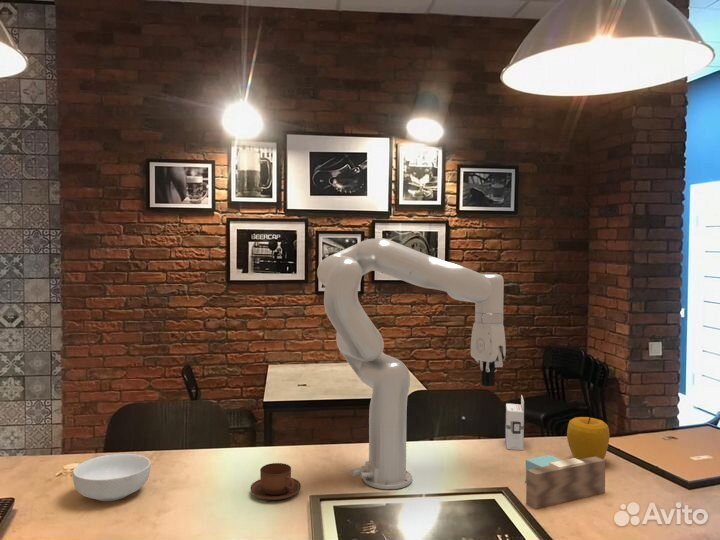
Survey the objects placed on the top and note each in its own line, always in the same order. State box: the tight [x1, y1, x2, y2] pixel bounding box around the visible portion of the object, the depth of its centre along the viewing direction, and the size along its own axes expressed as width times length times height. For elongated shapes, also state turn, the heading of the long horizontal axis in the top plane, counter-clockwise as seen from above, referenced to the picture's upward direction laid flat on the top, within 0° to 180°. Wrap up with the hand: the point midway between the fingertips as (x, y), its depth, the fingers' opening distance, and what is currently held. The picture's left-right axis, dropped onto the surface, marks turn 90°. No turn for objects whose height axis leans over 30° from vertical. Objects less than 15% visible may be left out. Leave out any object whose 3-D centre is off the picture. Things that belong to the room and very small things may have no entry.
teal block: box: [524, 454, 562, 483], centre depth 141 cm, size 8×10×6 cm
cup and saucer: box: [249, 462, 302, 501], centre depth 136 cm, size 12×12×6 cm
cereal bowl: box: [72, 453, 152, 502], centre depth 134 cm, size 17×17×7 cm
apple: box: [566, 416, 611, 460], centre depth 158 cm, size 11×11×13 cm
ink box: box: [505, 394, 525, 451], centre depth 172 cm, size 9×5×15 cm, turn 168°
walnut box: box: [525, 456, 606, 510], centre depth 134 cm, size 22×3×9 cm, turn 115°
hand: (488, 385), depth 155 cm, fingers closed
